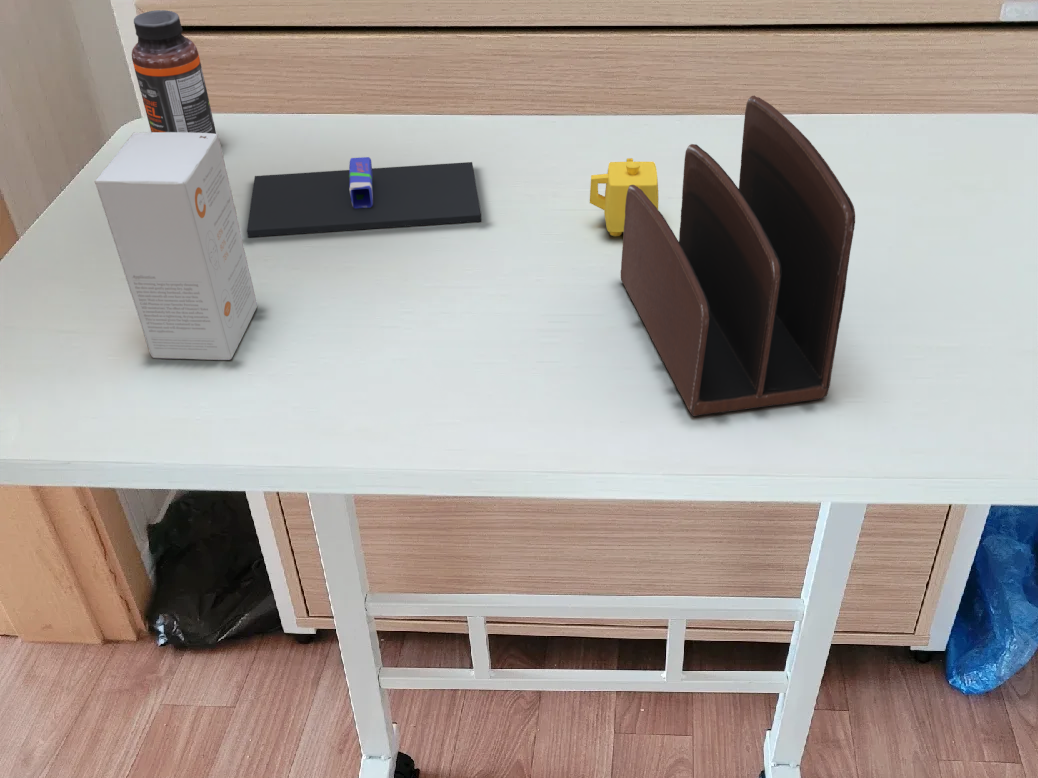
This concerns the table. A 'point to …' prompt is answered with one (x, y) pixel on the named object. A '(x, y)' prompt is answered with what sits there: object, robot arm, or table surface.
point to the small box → (179, 243)
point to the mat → (395, 204)
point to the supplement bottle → (170, 75)
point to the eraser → (361, 182)
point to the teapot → (623, 190)
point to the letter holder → (745, 271)
